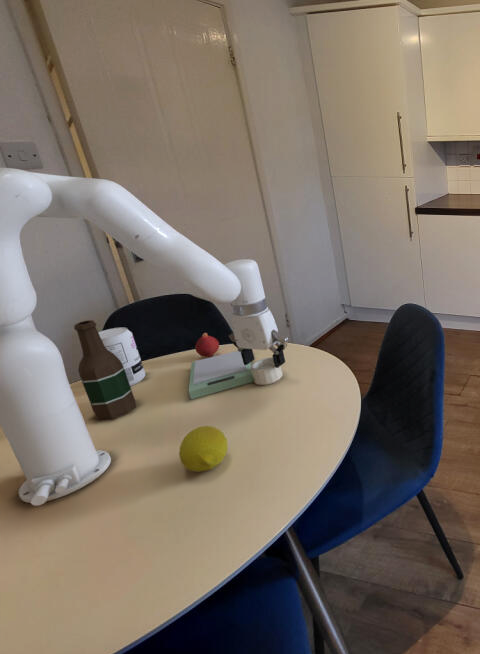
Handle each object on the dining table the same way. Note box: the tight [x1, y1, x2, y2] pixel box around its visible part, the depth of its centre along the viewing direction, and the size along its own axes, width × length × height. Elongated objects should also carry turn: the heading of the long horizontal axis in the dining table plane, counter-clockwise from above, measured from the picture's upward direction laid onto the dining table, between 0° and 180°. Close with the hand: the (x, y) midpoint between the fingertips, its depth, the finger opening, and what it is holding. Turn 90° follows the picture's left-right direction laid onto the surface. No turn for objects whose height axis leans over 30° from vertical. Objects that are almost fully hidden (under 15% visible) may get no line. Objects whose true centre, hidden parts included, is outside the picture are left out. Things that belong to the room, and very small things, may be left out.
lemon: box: [178, 425, 228, 473], centre depth 84 cm, size 11×8×8 cm
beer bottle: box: [73, 319, 137, 421], centre depth 99 cm, size 8×8×24 cm
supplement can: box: [98, 326, 146, 387], centre depth 113 cm, size 8×8×15 cm
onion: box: [194, 332, 220, 358], centre depth 126 cm, size 6×6×8 cm
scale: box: [188, 350, 255, 400], centre depth 117 cm, size 18×14×3 cm
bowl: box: [251, 356, 283, 386], centre depth 114 cm, size 7×7×5 cm
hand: (264, 363), depth 114 cm, fingers open, 9 cm apart
